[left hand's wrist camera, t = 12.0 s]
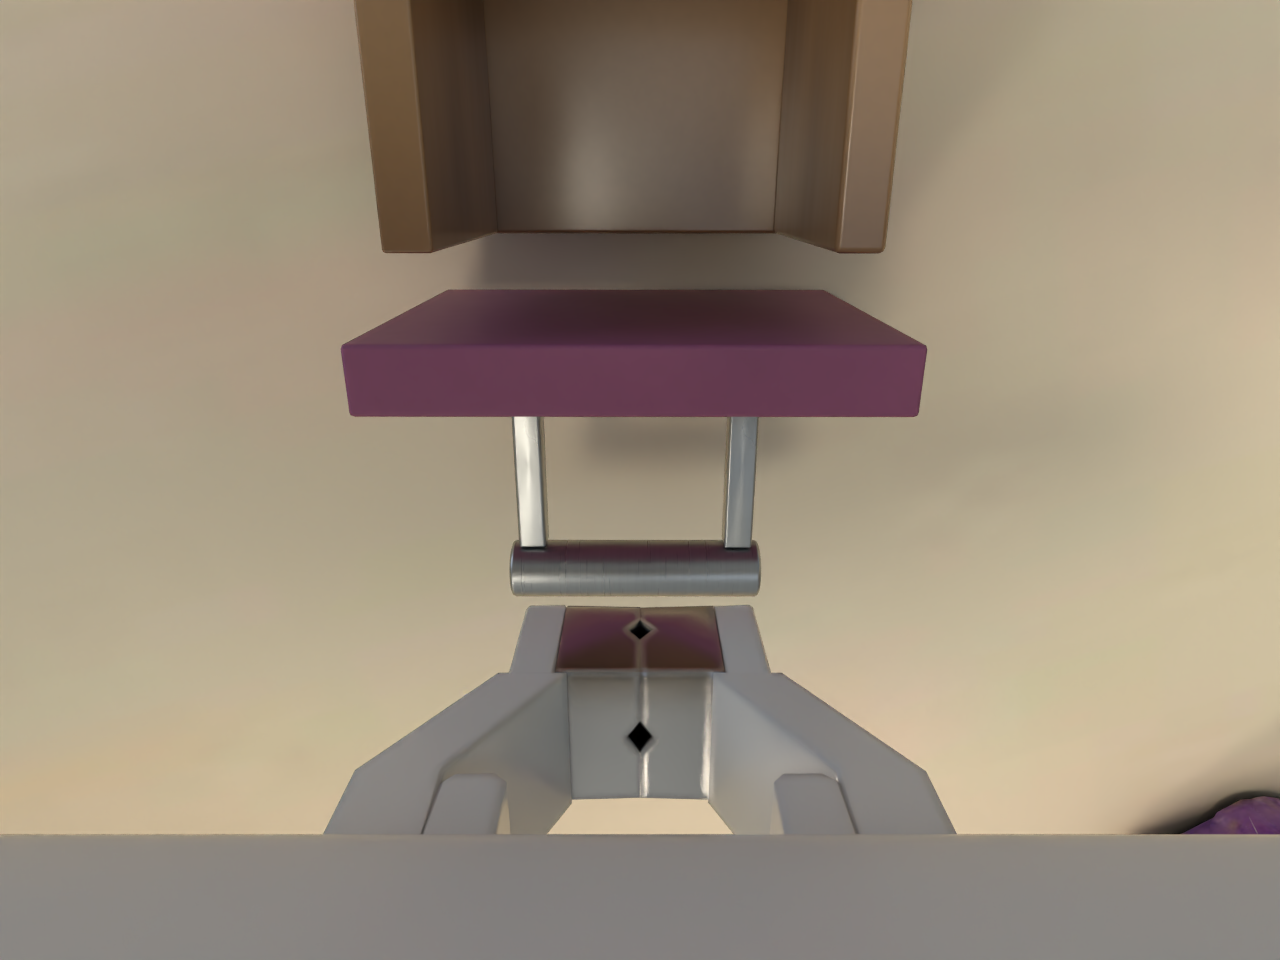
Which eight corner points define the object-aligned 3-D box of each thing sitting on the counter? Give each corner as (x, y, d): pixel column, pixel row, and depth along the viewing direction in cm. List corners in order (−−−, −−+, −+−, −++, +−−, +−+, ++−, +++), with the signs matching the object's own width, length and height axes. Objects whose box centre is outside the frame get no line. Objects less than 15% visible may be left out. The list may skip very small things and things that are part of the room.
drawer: (806, 525, 21) (883, 682, 14) (466, 525, 21) (385, 682, 14) (915, -752, 13) (1219, -1792, 6) (354, -753, 13) (39, -1796, 6)
